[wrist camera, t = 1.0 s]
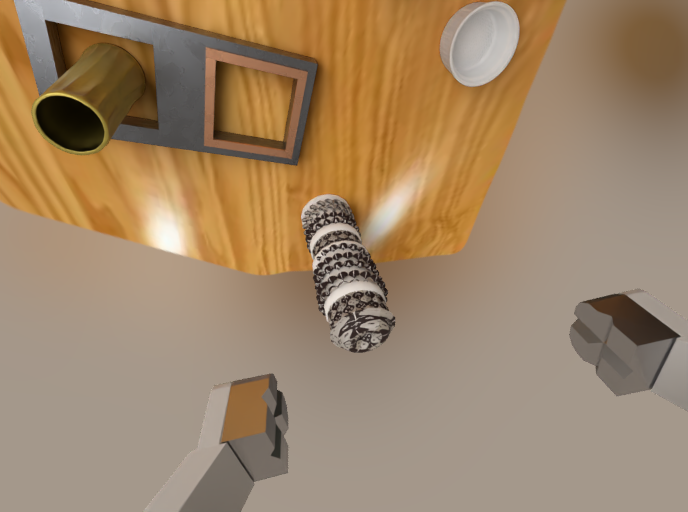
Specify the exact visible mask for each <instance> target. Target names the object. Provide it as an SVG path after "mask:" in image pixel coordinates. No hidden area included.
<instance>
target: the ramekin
mask: <svg viewBox="0 0 688 512" xmlns="http://www.w3.org/2000/svg"><path fill="white" fill-rule="evenodd" d="M518 39H519V21H518V17H517V14H516V13H515V11H514V10H513V9H512V8H511V7H510V6H509V5H508V4H506V3H503V2H497V1H494V2H487V3H484V2H476V3H471V4H468V5H466V6H464V7H463V8H461V9H460V10H458V11H457V12H456V13H455V14H454V15H453V16H452V18H451V19H450V20H449V21H448V23H447V25H446V26H445V28H444V31H443V33H442V36H441V41H440V56H441V59H442V62H443V64H444V66H445V67H446V68H447V69H448V71H450V72H451V73H452V74H453V76H454V77H455V79H456V80H457V81H458V82H460V83H461V84H463V85H465V86H469V87H476V86H481V85H484V84H486V83H488V82H490V81H491V80H493V79H494V78H496V77H497V76H498V75H499V74H500V73H501V72H502V71H503V70H504V69H505V68H506V66H507V65H508V63H509V62H510V60H511V59H512V57H513V55H514V52H515V50H516V47H517V44H518Z"/></svg>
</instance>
